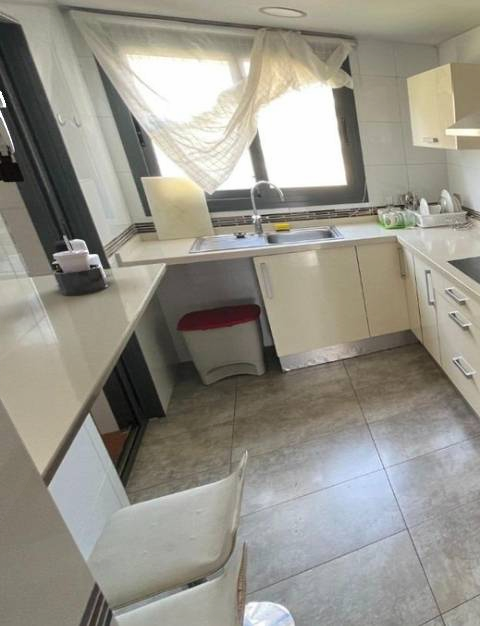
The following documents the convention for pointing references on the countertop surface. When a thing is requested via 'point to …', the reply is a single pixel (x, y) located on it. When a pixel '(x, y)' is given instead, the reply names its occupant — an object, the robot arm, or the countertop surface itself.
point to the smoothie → (72, 259)
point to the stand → (80, 281)
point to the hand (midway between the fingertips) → (10, 181)
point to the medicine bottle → (75, 245)
